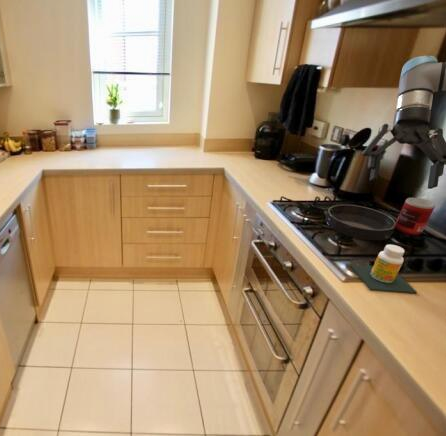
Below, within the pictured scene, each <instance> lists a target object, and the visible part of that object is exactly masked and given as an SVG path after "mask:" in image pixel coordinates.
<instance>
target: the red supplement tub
mask: <svg viewBox="0 0 446 436" xmlns="http://www.w3.org/2000/svg"><path fill="white" fill-rule="evenodd" d="M435 207H436V204H435V203H434V202H432V201H431V200H429V199H425V198H421V197H420V198H419V197H407V198H406V199H405V201H404V203H403V205H402V208H401V210H400V212H399V215H398V217H397V219H396V220H395V222H396V227H395V230H397V231H398V232H400V233H403V234H406V235H409V236H410V235H411V236H419V235H421V234H422V233H423V232H424V230H425V228H426V227H427V226H426V225H428V222H429V220H430V218H431V216H432V214H433V212H434V210H435Z"/></svg>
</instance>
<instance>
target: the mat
mask: <svg viewBox="0 0 446 436" xmlns="http://www.w3.org/2000/svg"><path fill="white" fill-rule="evenodd" d="M373 266H374V265H364V264H350V267H351V269H352V270H353V271H354V272H355V274H356V275H357V276H358V277H359V278H360V280H361V281H362V282H363V284H364V285H365V286H366V287H367V288H368V290H369V291H376V292H386V293H387V292H388V293H400V294H410V295H411V294H414V295H416V294H417V291H416V290H415V289H414V288H413V287H412V286H411V284H409V283H408V282H407V281H406V280H405V279H404V278H403V277H402V276H401V275H400V273H398V274H397V276H396V278H395V280H394V281H393V282H391V283H385V282H381V281H378V280H376V279H375V278H373V277H372V276H371V270H372V268H373Z"/></svg>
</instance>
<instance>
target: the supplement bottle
mask: <svg viewBox="0 0 446 436" xmlns="http://www.w3.org/2000/svg"><path fill="white" fill-rule="evenodd" d="M404 254H405V249H404V248H403V247H401V246H399V245H396V244H386V245H385V246H384V248H383V250H381V251H380V252H379V253H378V255H377V257H376V259H375V262H374V264H373V265H372V266H373V268H372V270H371V274H372V275H373V276H372V275H371V276H372V277H373V278H375V279H376V280H378V281H381V282H385V283H391V282H393V281H394V280H395V278H396V276H397V274H399V271H400V269H401V267H402V266H403V263H404V262H405V261H404V260H405V259H404Z"/></svg>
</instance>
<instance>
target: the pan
mask: <svg viewBox="0 0 446 436" xmlns="http://www.w3.org/2000/svg"><path fill="white" fill-rule="evenodd" d="M324 218H325V219H324V221H325V223H326V225H327V226H328V227H329V228H331V229H332V230H333V231H335V232H338V233H340V234H342V235H344V236H348V237H351V238H354V239H359V240H364V241H374V242H375V241H386V240H388V239H390V238H391V237H392V236H393V235H394V232H395V230H396V228H395V227H396V220H395V219H394V218H392V217H391V216H390V215H388V214H386V213H385V212H382V211H379V210H376V209H374V208H370V207H366V206H361V205H356V204H336V205H332V206H330V207H328V209H327V212H326V214H325V217H324Z"/></svg>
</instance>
